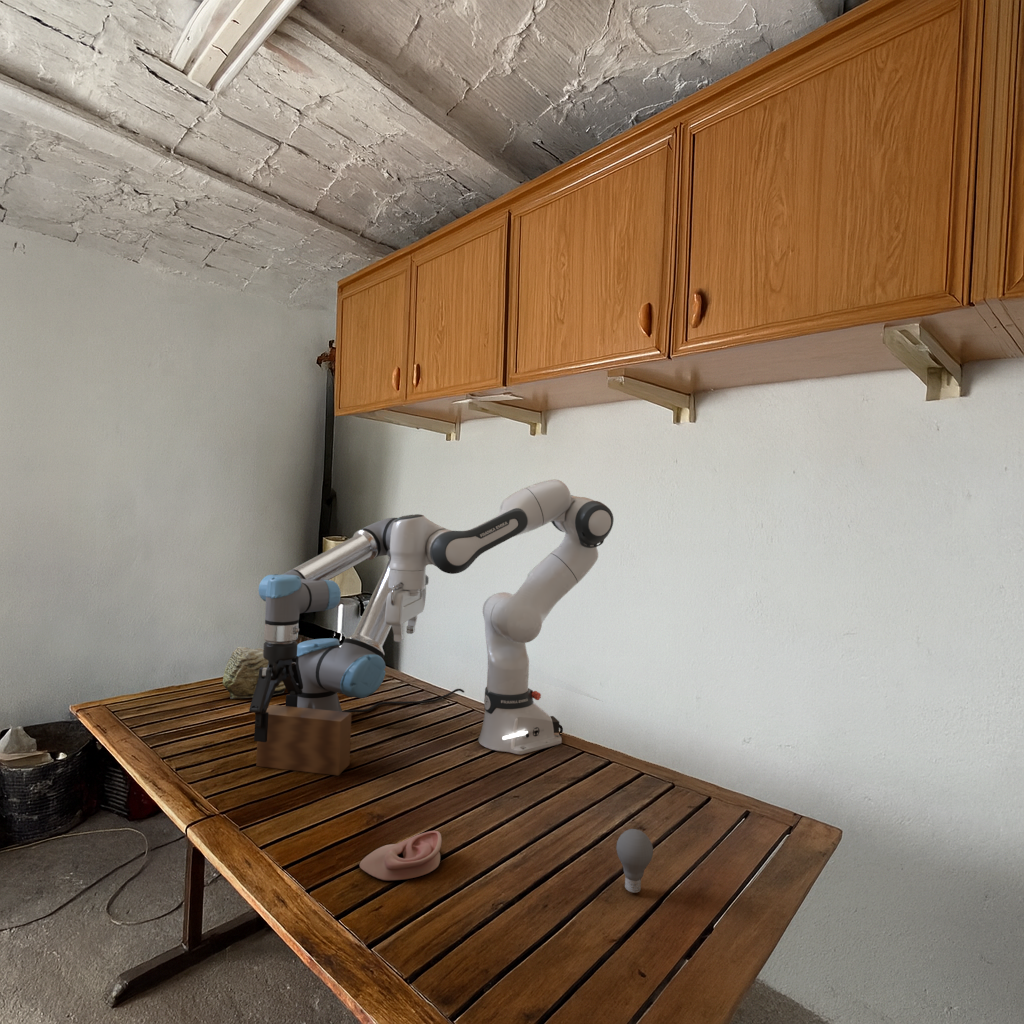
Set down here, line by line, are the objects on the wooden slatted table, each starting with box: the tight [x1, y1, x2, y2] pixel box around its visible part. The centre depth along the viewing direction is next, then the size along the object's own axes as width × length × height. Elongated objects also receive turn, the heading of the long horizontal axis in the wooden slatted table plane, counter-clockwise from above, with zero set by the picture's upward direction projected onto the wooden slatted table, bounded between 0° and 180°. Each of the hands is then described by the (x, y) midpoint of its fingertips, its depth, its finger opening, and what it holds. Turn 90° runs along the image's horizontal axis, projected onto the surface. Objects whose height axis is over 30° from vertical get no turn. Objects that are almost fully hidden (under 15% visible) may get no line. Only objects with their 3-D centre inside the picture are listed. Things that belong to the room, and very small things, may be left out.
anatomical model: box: [359, 830, 443, 882], centre depth 111 cm, size 13×4×12 cm
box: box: [255, 704, 352, 777], centre depth 149 cm, size 20×6×12 cm, turn 81°
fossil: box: [222, 646, 287, 699], centre depth 198 cm, size 9×18×15 cm, turn 132°
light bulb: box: [615, 828, 654, 894], centre depth 106 cm, size 6×6×10 cm
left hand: (276, 731), depth 149 cm, fingers open, 13 cm apart
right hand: (404, 637), depth 155 cm, fingers open, 8 cm apart
